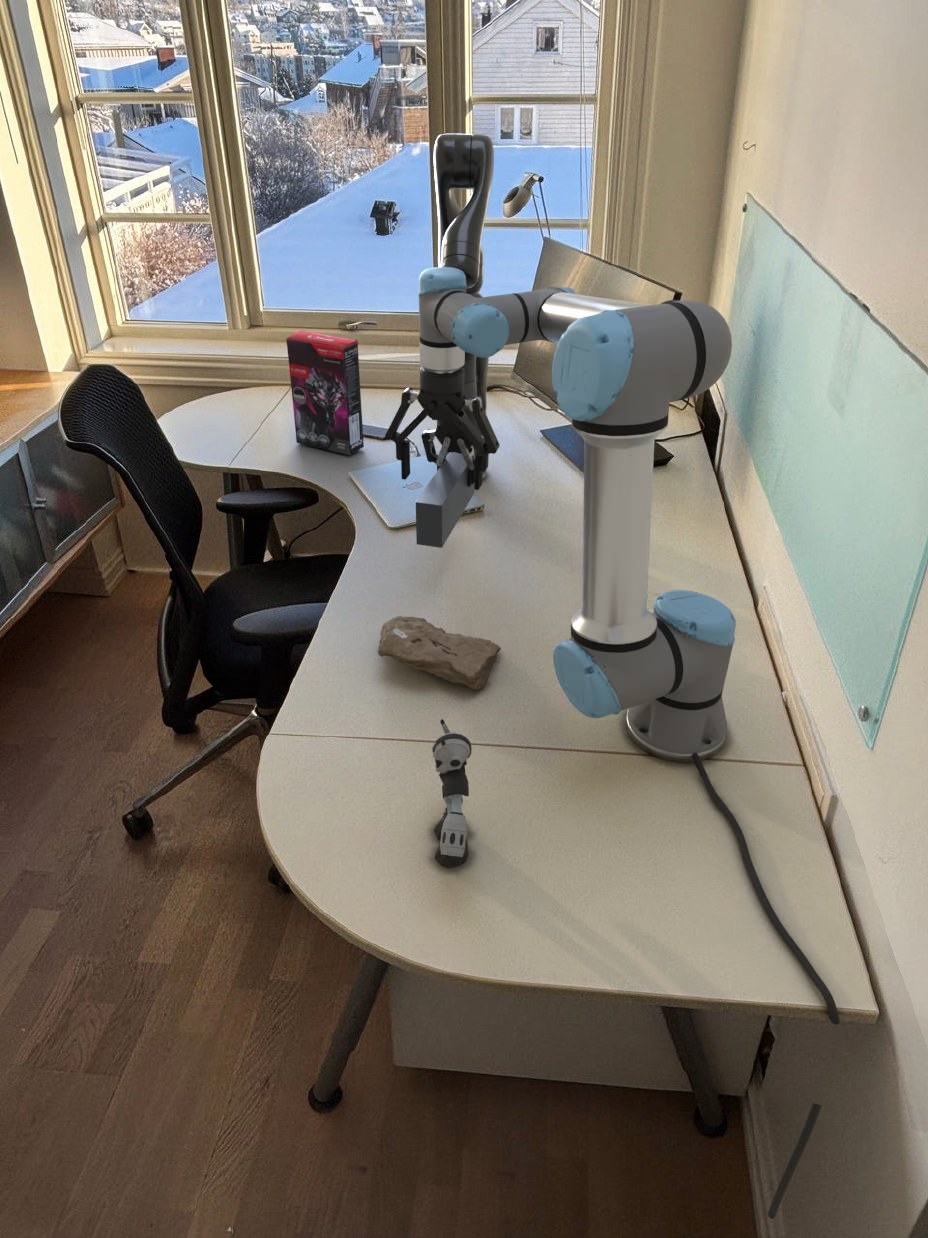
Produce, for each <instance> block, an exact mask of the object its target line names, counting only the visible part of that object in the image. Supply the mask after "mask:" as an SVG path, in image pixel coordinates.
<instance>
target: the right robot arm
mask: <svg viewBox="0 0 928 1238" xmlns="http://www.w3.org/2000/svg"><path fill="white" fill-rule="evenodd" d="M466 289H467V285H466V276H465V274H464V272H463V271H461V270H459V269H456V268H451V267H438V266H436V267H429V268H426V269H424V270H423V271H422V272H421V273H420V275H419V279H418V294H417V297H418V324H419V325H418V330H419V331H418V332H419V365H420V367H419V391H417V390H414V389H413V388H412V387H410V386H409V387H407V388H406V389H405V390H403V392H402V393H401V400H400V405H399V407H398V409H397V410H396V412H395V415H394V417H393V418H392V421H391V423H390V425H389V426H388V429H387V430H386V433H385V435H384V438H385V439H386V440H387V441H392V442H394V443H395V457H396V460H397V461H400V468H401V469H400V470H401V472H400V473H401V474H400V475H401V480H402V481H403V480H405V481H406V480H407V479H408V477H409V476H410V475H411V444H410V443H411V442H410V441H411V440H410V439H407V438H408V437H409V436H410V435H411V434H412V433H413V432H414V431H415V429H416V428H417V427H418V426H419V425H420V424H421V423H422V422H424V420H425V419H426V418H427V417H428V418H430V419H431V420H432V421H437V420H442V421H445V422H449V421H451V420H452V421H453V422H454V423H455V425H456V426H459V428H460V429H461V430H462V431H463V433H464V434H465V435H466V437H467V438H468V439H469V441H470V442H471V443H472V444H473V446H474V447H475V448H476V450H477V451H478V452H477V454H476V455H475V483H474V491H475V490H477V491H479V490H480V488H481V486H482V485H483V479H482V475H483V472H485V471H487V470H488V468H489V458H490V456H489V455H490V454H493V455H494V454H495V455H496V453H497V451H498V450H499V448H500V446H501V445H500V442H499V440H498V438H497V436H496V433H495V431H494V429H493V427H492V424H491V421H490V420H489V417H488V416H487V412H486V413H485V411H484V409H483V399H482V397H481V396H477V397H476V398H466V396H465V394H464V372H465V370H464V368H463V365H464V364H465V352H467V353H470V354H472V355H474V356H477V357H480V358H487V357H489V358H491V357H493V356H494V355H496V354H498V353H499V352H500V351H502V349H503V348H505V346H510V345H515V344H522V343H526V342H534V341H544V342H548V343H554V344H557V345H556V348H555V351H554V355H553V360H552V367H551V382H552V389H553V392H554V394H557V396H556V402H557V405H558V407H559V408H560V410H561V411H562V413H563V414H564V415H565V416H566V417H568V418H570V419H571V427H572V429H573V431H575V432H576V433H577V434H578V435H579V436H580V437H581V438H582V439H583V509H582V510H583V511H582V512H583V514H582V515H583V518H582V519H583V520H582V529H583V530H582V534H583V535H582V595H581V596H582V597H581V598H582V599H581V601H582V603H581V605H582V606H581V607H580V608H579V609H577V610H576V611H575V612H574V613H573V615H572V617H571V619H570V638H569V639H562V640H561V642H559V643H557V645H556V646H555V647H554V651H553V654H552V655H553V656H552V657H553V658H552V659H553V667H554V671H555V675H556V678H557V681H558V683H559V685H560V688H561V689H562V691H563V693H564V695H565V696H566V698H567V700H568V701H569V702H570V704H571V705H572V706H573V707H574V708H575V709H576V710H577V711H578V712H579V713H581V714H582V715H584V716H586V717H588V718H591V719H601V718H603V717H607V716H611V715H618V714H620V713H621V712H622V711H625V710H627V711H626V719H625V728H626V732H627V734H628V736H629V738H630V739H631V741H632V742H634V744H636V745H637V746H638V747H639V748H640V749H641V750H643V751H645V752H646V753H648V754H650V755H651V756H654V757H656V758H659V759H662V760H666V761H670V762H675V763H694V765H695V767H696V769H697V771H698V774H699V776H700V779H701V780H702V783H703V785H704V787H705V789H706V791H707V793H708V794H709V796H710V797H711V799H712V800H713V802H714V803H715V804H716V806H717V807H718V808H719V810H720V811H721V813H722V814H723V815H724V816H725V818H726V819H727V821H728V823H729V824H730V826H731V828H732V830H733V833H734V834H735V837H736V841H737V842H738V846H739V849H740V853H741V854H740V855H741V856H742V857H741V858H742V859H743V860H742V861H743V863H744V867H745V869H746V871H747V874H748V876H749V879H750V881H751V883H752V886H753V888H754V890H755V893H756V895H757V897H758V899H759V902H760V903H761V906H762V908H763V909H764V911H765V913H766V915H767V917H768V919H769V920H770V922H771V924H772V925H773V927H774V929H775V930H776V931H777V933H778V935H779V936H780V937H781V939H782V940H783V941H784V943H785V944H786V945H787V947H788V948H789V950H790V951H791V952H792V954H793V955H794V956H795V958H796V959H797V961H798V962H799V964H800V965H801V966H802V968H803V969H804V971H805V972H806V973H807V975H808V977H809V978H810V980H811V981H812V983H813V984H814V986H815V987H816V988H817V989H818V991H819V993H820V994H821V997H822V998H823V1000H824V1002H825V1005H826V1009H827V1012H828V1016H829V1020H830V1022H831V1023H832V1024H833V1025H837V1026H838V1025H839V1024H840V1018H839V1012H838V1008H837V1005H836V1002H835V999H834V997H833V995H832V992H831V991H830V989H829V988H828V986H827V984H826V983H825V982H824V981H823V979H822V978H821V977H820V975H819V974H818V973H817V971H816V969H815V968H814V967H813V965H812V963H811V962H810V960H809V959H808V957H807V956H806V955H805V954H804V951H802V949H801V948H800V946H799V945H798V944H797V943H796V941H795V940H794V939H793V937H792V936H791V935H790V934H789V932H788V931H787V929H786V928H785V926H784V925H783V923H782V922H781V920H780V919H779V917H778V915H777V913H776V911H775V909H774V908H773V906H772V904H771V902H770V901H769V898H768V896H767V894H766V892H765V890H764V888H763V885H762V883H761V881H760V878H759V876H758V873H757V872H756V869H755V866H754V863H753V861H752V858H751V854H750V851H749V848H748V844H747V841H746V838H745V835H744V832H743V830H742V828H741V826H740V825H739V822H738V820H737V819H736V817H735V816H734V814H733V812H731V810H730V809H729V807H728V806H727V805H726V804H725V802H724V801H723V799H722V798H721V797H720V796H719V794H718V793H717V791H716V790H715V788H714V786H713V784H712V782H711V780H710V778H709V775H708V773H707V770H706V767H704V764H703V762H702V761H703V760H706V759H709V758H711V757H714V755H716V754H718V752H720V751H721V750H722V748H723V747H724V744H725V743H726V740H727V739H726V738H727V734H728V721H727V716H726V712H725V708H724V707H725V706H724V701H723V692H724V687H725V682H726V678H727V674H728V669H729V664H730V661H731V655H732V652H733V647H734V644H735V642H736V637H735V632H736V627H737V626H736V625H737V624H736V617H735V615H734V614H733V612H732V610H731V609H730V608H729V607H728V606H727V605H726V604H724V603H723V602H722V601H720V600H719V599H717V598H715V597H712V596H710V595H707V594H705V593H702V592H698V591H693V590H686V589H685V590H684V589H673V590H669V591H665V592H663V593H661V594H659V595H658V596H657V597H656V600H655V602H654V604H653V607H652V608H653V612H651V611H650V610H649V609H648V608H647V605H648V585H649V567H650V565H649V564H650V563H649V562H650V547H651V546H650V543H651V541H650V540H651V524H652V523H651V522H652V505H653V504H652V502H653V500H652V499H653V481H654V462H655V461H654V458H655V441H656V439H657V438H658V437H659V436H660V435H661V434H662V433H663V432H665V430H666V429H667V428H668V426H669V415H670V414H669V412H670V403H674V402H679V401H683V400H686V399H691V398H694V397H696V396H698V395H700V394H702V393H704V392H706V391H707V390H709V389H711V388H712V387H713V386H714V385H715V384H716V383H717V382H718V381H719V380H720V378H722V376H723V375H724V373H725V371H726V369H727V367H728V366H729V363H730V359H731V356H732V348H733V343H732V342H733V341H732V333H731V330H730V326H729V325H728V322H727V320H726V318H725V317H724V316H723V314H721V313H720V312H719V311H718V310H717V309H716V308H715V307H713V306H711V305H709V304H707V303H705V302H702V301H699V300H698V301H697V300H680V299H668V300H664V301H661V302H659V303H657V304H649V303H648V304H647V303H640V302H633V301H627V300H626V301H625V300H619V299H612V298H606V297H598V296H592V295H583V294H578V293H577V292H575V290H574V289H573V288H572V287H569V286H561V287H560V286H551V287H547V288H543V289H535V290H529V291H522V292H513V293H506V294H505V293H504V294H498V295H497V294H496V295H490V296H489V295H488V296H483V297H481V298H476V297H473V296H472V295H470V294H468V293H466ZM416 400H417V402H418V403H419V405H420V407H421V408H422V410H421V411H419V413H418V414H417V415H416V416H415V417H414V418H413V419H412V420H411V421H410V423H409V424H408V425H407V426H406V427H405V428H404V429H403V430H402V431H401V432H398V430H399V428H400V426H401V424H402V422H403V420H404V418H405V416H406V414H407V412H408V410H409V408H410V406H411V405H413V404H414V403H415V401H416ZM465 405H467V406H468V407H469V409H470V411H473V415H474V418H475V420H476V422H477V424H478V427H479V429H480V431H481V433H482V435H483V437H482V436H481V435H480V433H479V432H478V431H477V429H476V428H475V427H474V425H473V424H472V423H471V421H470V420H469V419H468V417H467V414H466V413H465V411H464V410H463V408H464V406H465ZM822 1107H823V1105H821V1104H817V1103H814V1102H812V1104H811V1107H810V1110H809V1113H808V1115H807V1119H806V1120H805V1123H804V1127H803V1128H802V1131H801V1133H800V1136H799V1138H798V1140H797V1143H796V1145H795V1147H794V1150H793V1152H792V1154H791V1157H790V1158H789V1160H788V1163H787V1165H786V1168H785V1170H784V1172H783V1174H782V1177H781V1178H780V1181H779V1184H778V1185H777V1188H776V1190H775V1193H774V1195H773V1198H772V1201H771V1204H770V1206H769V1208H768V1212H767V1216H768V1218H769V1219H771V1220H774V1219H776V1217H777V1213H778V1211H779V1208H780V1206H781V1204H782V1201H783V1199H784V1196H785V1193H786V1191H787V1189H788V1186H789V1184H790V1182H791V1180H792V1178H793V1175H794V1173H795V1171H796V1169H797V1167H798V1165H799V1162H800V1161H801V1158H802V1156H803V1154H804V1151H805V1150H806V1147H807V1144H808V1142H809V1140H810V1138H811V1136H812V1133H813V1130H814V1128H815V1125H816V1123H817V1120H818V1118H819V1115H820V1112H821V1109H822Z"/></svg>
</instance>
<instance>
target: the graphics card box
mask: <svg viewBox="0 0 928 1238" xmlns="http://www.w3.org/2000/svg"><path fill="white" fill-rule="evenodd" d="M285 341H286V348H287V349H286V350H287V359H288V369H289V378H290V389H291V398H292V408H293V420H294V428H295V441H296V444H300V445H304V446H309V447H314V448H317V449H321V450H326V451H330V452H334V453H340V454H343V455H348V456H351V455H353V454H354V453H356V452H358V451H359V450H361V449H363V448H364V445H365V443H364V428H363V427H364V426H363V424H364V423H363V411H362V409H363V408H362V396H361V377H360V361H359V341H358V339H350V338H343V337H339V336H333V335H330V334H329V335H328V334H324V333H318V332H313V331H312V332H311V331H306V330H298V331H295V332H293V333H292V334H290V335H289V336H288V337H286V340H285Z"/></svg>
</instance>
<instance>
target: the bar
mask: <svg viewBox="0 0 928 1238" xmlns="http://www.w3.org/2000/svg"><path fill="white" fill-rule="evenodd" d="M474 455H475V454H474ZM467 470H468V466H467V463H466V461H465V460H464V458H463V455H462V454H459V453H456V452H452V453H451V452H450V453H449V455H448V456H447V458H446V459H445V461H444V462H443V463H442V465H441V466H440V468H439V469H438V471H437V470H436V472H435V474H434V475H433V477H432V478H431V479H430V481H429V482H428V483H427V485H426V486H425V488H424V489H423V491H422V493H420V495H419V497H418V498H417V499H416V501H415V532H416V533H415V534H416V535H415V537H416V539H415V540H416V545H419V546H426V547H433V548H439V549H443V548H444V545H445V544H446V542H447V540H448V539H449V537H450V535H451V534H452V532H453V530H454V528H455V527H456V526H457V523H458V522H459V521H460V519H461V517H462V515H463V514H464V511H465V510H466V508H467V507H468V506H469V504H470V501H471V500H472V498H473V496H474V495H475V490H474V484H472V486H471V487H468V486H467Z"/></svg>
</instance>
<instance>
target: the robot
mask: <svg viewBox="0 0 928 1238" xmlns="http://www.w3.org/2000/svg"><path fill="white" fill-rule="evenodd" d="M439 722H440V725H441V727H442V730H443V733H444V734H442V735H441V736H439V737H438V738H437V739H436V740H435V741H434V742H433V745H432V747H431V752H432V757H433V758H434V761H435V771H436V772H437V773H439V774H438V776H439V779H440V781H441V783H442V785H441V792H442V794H441V795H442V799H443V801H444V802H445V805H446V807H445V808H444V812H443V813H442V816H441V819H440V820H439V821H438V823H437V824H435V826H434V828H433V833H434V834H435V836H436V838H437V839H438V840H439V841H440V842H439V845H438V848H437V849H436V852H435V855H434V859H435V860H436V861H437V862H438V863H439V865H441V866H443V867H447V868H453V867H457V866H459V865H461V864H463V863H466V862H467V859H468V856H469V854H470V853H469V844H468V840H467V837H468V823H467V818H466V815H464V813H463V810H462V806H463V804H464V798H463V797H469V795H470V794H469V793H470V788H469V787H470V786H469V779H468V776H467V774H466V766H467V765H468V762H467V760H468V759H469V758H470V757H471V755H472V749H473V748H472V743H471V741H470V739H468V738H467V736H465V735H464V734H462V733H460V732H457V731H450V729H449V727H448V725H447V723H446V722H445V720H444V719H443V718H441V719H440V720H439Z"/></svg>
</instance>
